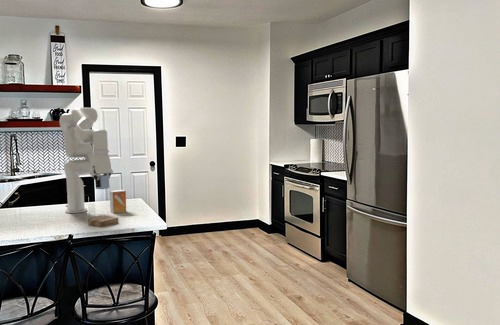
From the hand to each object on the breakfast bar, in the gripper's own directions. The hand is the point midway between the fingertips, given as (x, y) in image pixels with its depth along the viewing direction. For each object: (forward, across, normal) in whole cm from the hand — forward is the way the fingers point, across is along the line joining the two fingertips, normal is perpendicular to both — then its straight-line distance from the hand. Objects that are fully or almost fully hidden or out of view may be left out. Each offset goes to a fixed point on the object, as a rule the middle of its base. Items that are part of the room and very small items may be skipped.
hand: (102, 186), depth 249 cm
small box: (+20, -26, -18) cm, 37 cm away
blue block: (+1, 0, 0) cm, 1 cm away
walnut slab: (+20, +2, +1) cm, 20 cm away
